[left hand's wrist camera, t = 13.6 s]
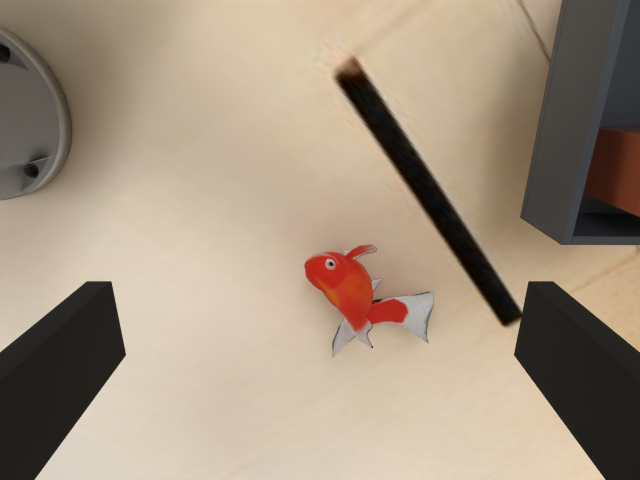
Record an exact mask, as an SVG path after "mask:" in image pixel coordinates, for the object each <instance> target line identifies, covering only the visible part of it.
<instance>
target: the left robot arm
mask: <svg viewBox="0 0 640 480" xmlns="http://www.w3.org/2000/svg"><path fill="white" fill-rule="evenodd" d="M70 143H71V119H70V113H69V109H68V105H67V102H66V99H65V96H64V94H63V91H62V89H61V87H60V85H59V83H58V81H57V79H56V78H55V76H54V75H53V73H52V71H51V70H50V68H49V67H48V66H47V65H46V63H45V62H44V61H43V60H42V59H41V57H40V56H39V55H38V54H37V53H36V52H35V51H34V50H33V49H32V48H31V47H30V46H29V45H27V44H26V43H25V42H24V41H22V40H21V39H20V38H18V37H17V36H15V35H14V34H12V33H11V32H9V31H7V30H5V29H4V28H2V27H0V200H6V199H12V198H15V197H19V196H22V195H24V194H27V193H30V192H33V191H35V190H37V189H39V188H41V187H43V186H44V185H46V184H47V183H49V182H50V181H51V180H52V179H53V178H54V177H55V176H56V175H57V174H58V172H59V171H60V169H61V168H62V166H63V164H64V163H65V161H66V158H67V155H68V152H69V148H70ZM125 356H126V353H125V348H124V343H123V338H122V333H121V328H120V323H119V317H118V312H117V307H116V302H115V297H114V292H113V287H112V282H111V281H87V282H86V283H84V284H83V285H82V286H81V287H80V288H78V289H77V290H76V291H75V292H73V293H72V294H71V295H70V296H69V297H67V298H66V299H65V300H64V301H62V302H61V303H60V304H59V305H58V306H56V307H55V308H54V309H53V310H51V311H50V312H49V313H48V314H47V315H45V316H44V317H43V318H42V319H41V320H39V321H38V322H37V323H36V324H34V325H33V326H32V327H31V328H30V329H28V330H27V331H26V332H25V333H23V334H22V335H21V336H20V337H19V338H17V339H16V340H15V341H14V342H12V343H11V344H10V345H9V346H8V347H6V348H5V349H4V350H3V351H1V352H0V480H35V478H36V477H37V476H38V474H39V473H40V471H41V470H42V469H43V467H44V466H45V465H46V463H47V462H48V460H49V459H50V458H51V456H52V455H53V454H54V452H55V451H56V450H57V448H58V447H59V446H60V444H61V443H62V441H63V440H64V439H65V437H66V436H67V435H68V433H69V432H70V431H71V429H72V428H73V426H74V425H75V424H76V422H77V421H78V420H79V418H80V417H81V416H82V414H83V413H84V411H85V410H86V409H87V407H88V406H89V405H90V403H91V402H92V401H93V399H94V398H95V397H96V395H97V394H98V392H99V391H100V390H101V388H102V387H103V386H104V384H105V383H106V382H107V380H108V379H109V377H110V376H111V375H112V373H113V372H114V371H115V369H116V368H117V367H118V365H119V364H120V362H121V361H122V360H123V358H124V357H125ZM514 356H515V357H516V358H517V360H518V361H519V362H520V364H521V365H522V367H523V368H524V369H525V371H526V372H527V373H528V375H529V376H530V377H531V379H532V380H533V382H534V383H535V384H536V386H537V387H538V388H539V390H540V391H541V392H542V394H543V395H544V397H545V398H546V399H547V401H548V402H549V403H550V405H551V406H552V407H553V409H554V410H555V412H556V413H557V414H558V416H559V417H560V418H561V420H562V421H563V422H564V424H565V425H566V426H567V428H568V429H569V431H570V432H571V433H572V435H573V436H574V437H575V439H576V440H577V441H578V443H579V444H580V446H581V447H582V448H583V450H584V451H585V452H586V454H587V455H588V456H589V458H590V459H591V461H592V462H593V463H594V465H595V466H596V467H597V469H598V470H599V471H600V473H601V474H602V476H603V477H604V478H605V480H640V352H639V351H637V350H636V349H635V348H634V347H632V346H631V345H630V344H629V343H628V342H626V341H625V340H624V339H623V338H621V337H620V336H619V335H618V334H617V333H615V332H614V331H613V330H612V329H610V328H609V327H608V326H607V325H606V324H604V323H603V322H602V321H601V320H599V319H598V318H597V317H596V316H595V315H593V314H592V313H591V312H590V311H589V310H587V309H586V308H585V307H584V306H582V305H581V304H580V303H579V302H578V301H576V300H575V299H574V298H573V297H571V296H570V295H569V294H568V293H567V292H565V291H564V290H563V289H562V288H560V287H559V286H558V285H557V284H556V283H554V282H553V281H529V282H528V287H527V292H526V297H525V302H524V307H523V312H522V317H521V322H520V328H519V333H518V338H517V343H516V348H515V353H514Z"/></svg>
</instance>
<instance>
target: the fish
mask: <svg viewBox="0 0 640 480" xmlns="http://www.w3.org/2000/svg"><path fill="white" fill-rule="evenodd" d="M376 250H377V248H376V247H375V246H373V245H366V246H359V247H356V248H354V249H351V250H344V251H343V254H341V253H336V252H325V253H320V254H317V255H313V256H312V257H310V258H309V259H308V260H307V261H306V263H305V265H304V267H305V271H306V277H307V279H308V280H309V281H310V282H311V283H312V284H313V285H314V286H315V287H316V288H318V289H320V290H321V291H322V292H323V293H324V294H325V296H326V297H327V299H328V300H329V301H330V302H331V303H332V304H333V305H334V306H336V307H337V308H338V310H339V312H340V313H341V315H342V316H343V317H344V320H343V321H342V323H341V324H340V326H339V328H338V331H337V333H336V336H335V338H334V340H333V357H334V356H335V355H336V353H337V352H338V351H339V350H340V349H341V348H342V347H343V346H344V345H345V344H346V343H347V342H348V341H350V340H351V339H352V338H354V337H355V336H356V337H357V338H358V339H359V340H361V341H362V342H363V343H365V344H366V345H368V346H369V347H371V348H373V346H372V345H371V343H370V341H369V339H368V332H369V331H370V330H371V329H372V327H373V325H377V324H381V323H394V324H397V325H400V326H402V327H403V328H405V329H406V330H408V331H410V332H411V333H413V334H415V335H416V336H418V337H420V338H421V339H423V340H424V341H426V342H427V343H428V340H427V326H428V321H429V316H430V314H431V311H432V308H433V303H434V293H432V292H425V293H421V294H417V295H411V296H401V297H394V298H386V299H379V300H374V301H372V298H373V291H374V290H375V289H376V287H377V286H378V285H379V283H380V282H381V281H382V278H381V279H377V280H373V281H371V279H370V277H369V275H368V273H367V272H366V270H365V268H364V267H363V266H362V265H361V264H360V263H359V262H357V261H356V260H355V259H357V258H358V257H360V256H361V255H363V254H367V253H374V252H375V251H376Z"/></svg>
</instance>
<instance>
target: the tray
mask: <svg viewBox="0 0 640 480" xmlns="http://www.w3.org/2000/svg"><path fill="white" fill-rule="evenodd" d="M608 126H640V0H562V5H561V10H560V15H559V20H558V26H557V31H556V36H555V41H554V46H553V51H552V57H551V62H550V67H549V72H548V77H547V82H546V87H545V93H544V98H543V103H542V108H541V113H540V118H539V124H538V129H537V134H536V139H535V144H534V149H533V154H532V160H531V165H530V170H529V175H528V180H527V185H526V190H525V196H524V201H523V206H522V211H521V216H520V218H522V219H523V220H525V221H526V222H528V223H529V224H531V225H532V226H534V227H535V228H537V229H538V230H540V231H541V232H543V233H544V234H546V235H547V236H549V237H550V238H552V239H553V240H555V241H556V242H558V243H559V244H561V245H570V244H571V245H640V217H639V216H636V215H634V214H631V213H629V212H627V211H624V210H622V209H619V208H617V207H615V206H612V205H610V204H607V203H605V202H602V201H600V200H598V199H595V198H593V197H590V196H588V195H586V194H583V192H584V188H585V183H586V179H587V175H588V171H589V167H590V163H591V159H592V155H593V151H594V147H595V143H596V139H597V135H598V131H599V127H608Z"/></svg>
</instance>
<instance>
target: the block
mask: <svg viewBox="0 0 640 480" xmlns="http://www.w3.org/2000/svg"><path fill="white" fill-rule="evenodd" d="M583 194H586V195H588V196H590V197H593V198H595V199H598V200H600V201H602V202H605V203H607V204H610V205H612V206H615V207H617V208H619V209H622V210H624V211H627V212H629V213H631V214H634V215H636V216H639V217H640V126H608V127H599V131H598V135H597V139H596V143H595V147H594V151H593V155H592V159H591V163H590V167H589V171H588V175H587V179H586V183H585V188H584V192H583Z"/></svg>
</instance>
